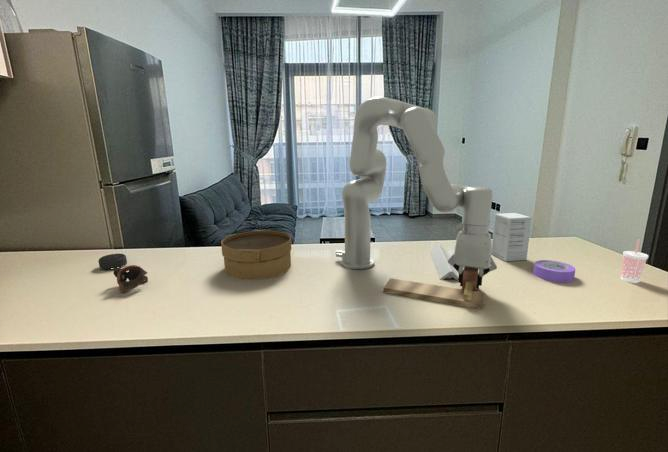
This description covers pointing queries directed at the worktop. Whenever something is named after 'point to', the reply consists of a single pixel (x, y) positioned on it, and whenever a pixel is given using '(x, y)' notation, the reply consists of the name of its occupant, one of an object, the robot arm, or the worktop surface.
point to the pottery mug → (130, 277)
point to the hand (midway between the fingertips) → (469, 285)
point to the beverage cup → (633, 265)
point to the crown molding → (443, 262)
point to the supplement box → (511, 236)
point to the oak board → (433, 293)
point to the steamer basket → (256, 254)
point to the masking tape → (554, 271)
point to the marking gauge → (469, 281)
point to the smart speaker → (112, 261)
